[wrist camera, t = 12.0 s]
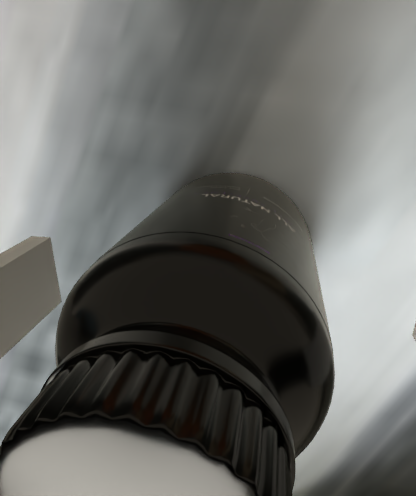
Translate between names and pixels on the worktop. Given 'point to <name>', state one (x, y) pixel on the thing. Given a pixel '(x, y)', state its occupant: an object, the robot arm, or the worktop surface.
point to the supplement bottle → (185, 357)
